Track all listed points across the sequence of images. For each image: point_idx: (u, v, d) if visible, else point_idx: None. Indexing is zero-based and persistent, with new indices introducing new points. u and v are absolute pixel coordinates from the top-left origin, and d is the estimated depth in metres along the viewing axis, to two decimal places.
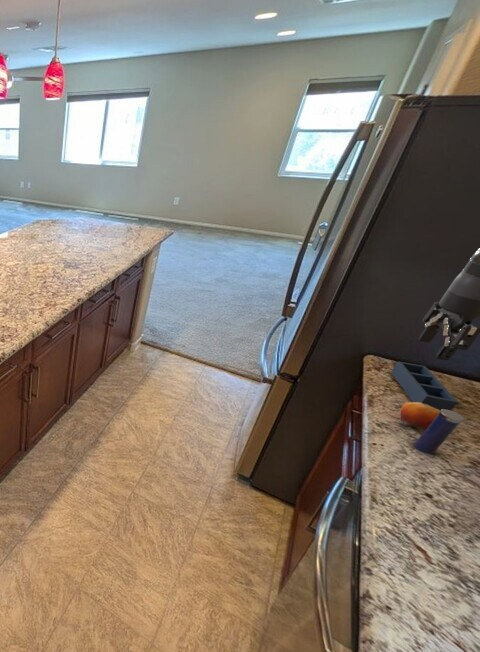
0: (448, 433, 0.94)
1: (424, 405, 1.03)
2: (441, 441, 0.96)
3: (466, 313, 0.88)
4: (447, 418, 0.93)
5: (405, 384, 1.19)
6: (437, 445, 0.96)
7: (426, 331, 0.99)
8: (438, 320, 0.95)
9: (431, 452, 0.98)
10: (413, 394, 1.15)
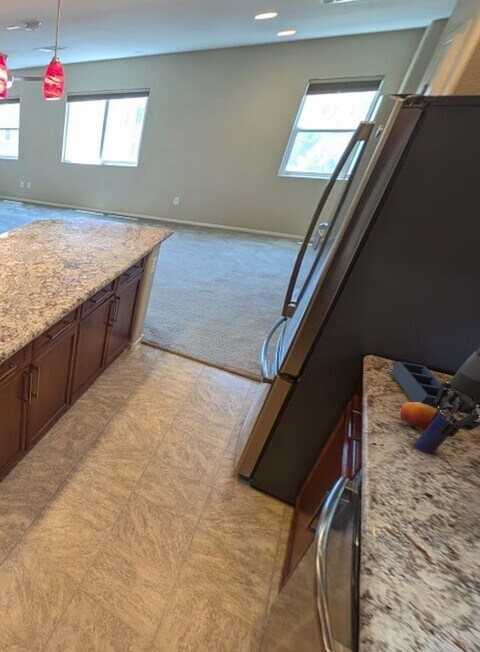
0: None
1: (424, 405, 1.03)
2: (441, 441, 0.96)
3: (479, 396, 0.87)
4: (447, 418, 0.93)
5: (405, 384, 1.19)
6: (437, 445, 0.96)
7: None
8: None
9: (431, 452, 0.98)
10: (413, 394, 1.15)
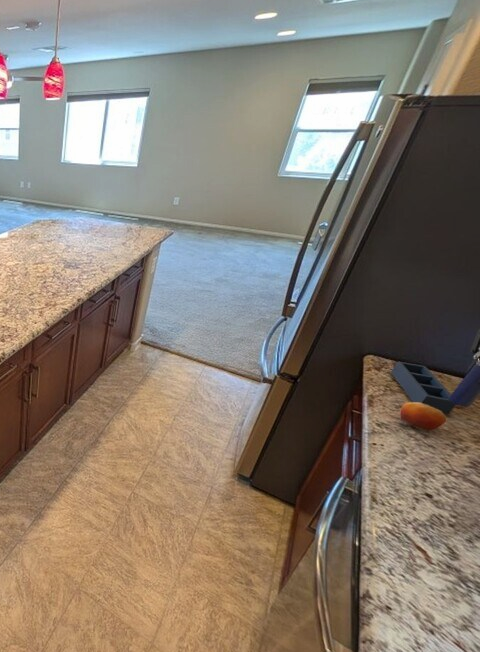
0: None
1: (424, 405, 1.03)
2: (479, 392, 0.89)
3: None
4: None
5: (405, 384, 1.19)
6: (474, 397, 0.90)
7: (475, 363, 0.90)
8: None
9: (467, 405, 0.92)
10: (413, 394, 1.15)
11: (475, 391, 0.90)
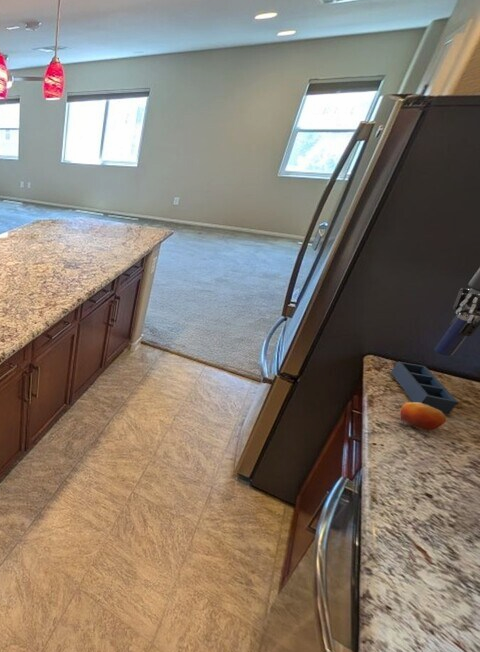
0: None
1: (424, 405, 1.03)
2: (459, 342, 1.05)
3: None
4: (465, 318, 1.02)
5: (405, 384, 1.19)
6: (456, 346, 1.06)
7: None
8: None
9: (450, 354, 1.07)
10: (413, 394, 1.15)
11: (456, 341, 1.05)
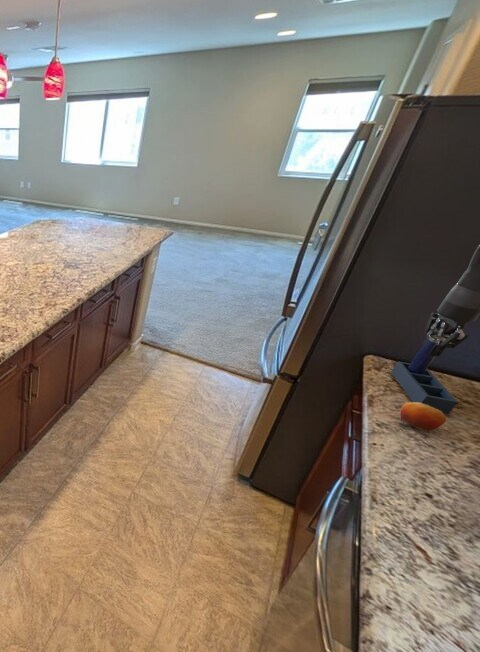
0: None
1: (424, 405, 1.03)
2: (430, 361, 1.16)
3: (460, 319, 1.07)
4: (434, 340, 1.14)
5: (405, 384, 1.19)
6: (426, 365, 1.17)
7: None
8: None
9: (421, 371, 1.18)
10: (413, 394, 1.15)
11: (427, 360, 1.16)
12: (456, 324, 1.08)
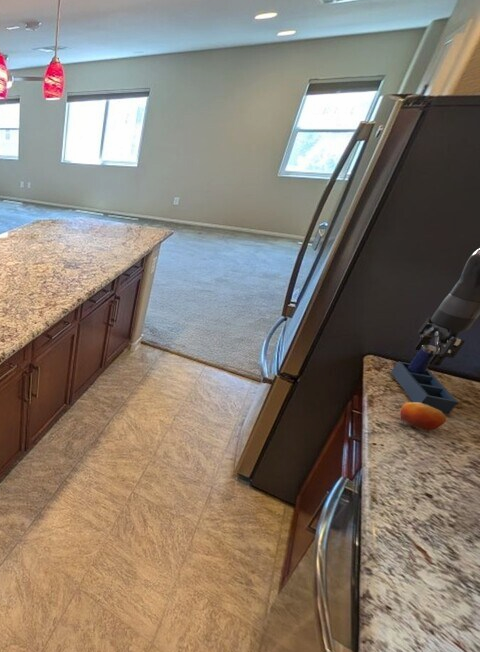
0: (428, 363, 1.17)
1: (424, 405, 1.03)
2: (423, 370, 1.18)
3: (453, 328, 1.09)
4: (427, 350, 1.16)
5: (405, 384, 1.19)
6: None
7: (421, 341, 1.19)
8: (430, 333, 1.16)
9: None
10: (413, 394, 1.15)
11: (420, 369, 1.18)
12: (449, 333, 1.10)
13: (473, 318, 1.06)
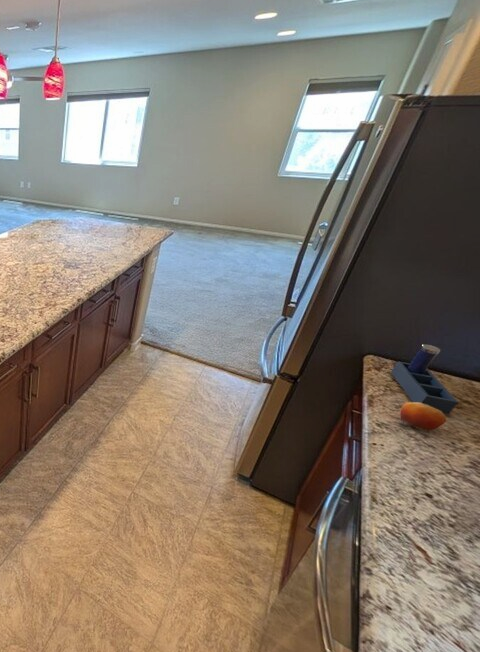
0: (428, 363, 1.17)
1: (424, 405, 1.03)
2: (423, 370, 1.18)
3: None
4: (427, 350, 1.16)
5: (405, 384, 1.19)
6: None
7: None
8: None
9: None
10: (413, 394, 1.15)
11: (420, 369, 1.18)
12: None
13: None
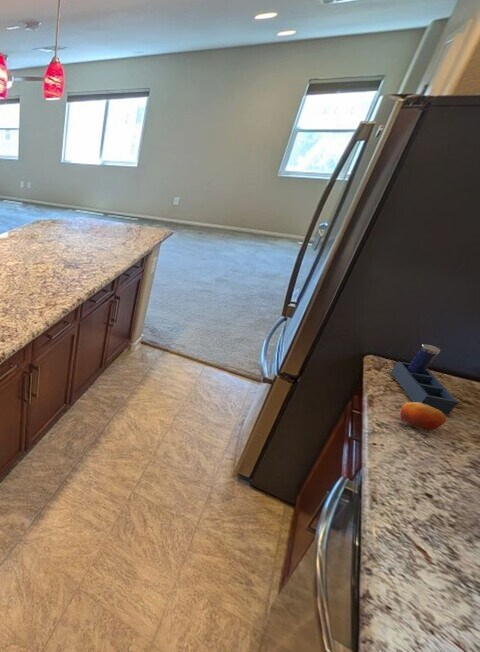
0: (428, 363, 1.17)
1: (424, 405, 1.03)
2: (423, 370, 1.18)
3: None
4: (427, 350, 1.16)
5: (405, 384, 1.19)
6: None
7: None
8: None
9: None
10: (413, 394, 1.15)
11: (420, 369, 1.18)
12: None
13: None
